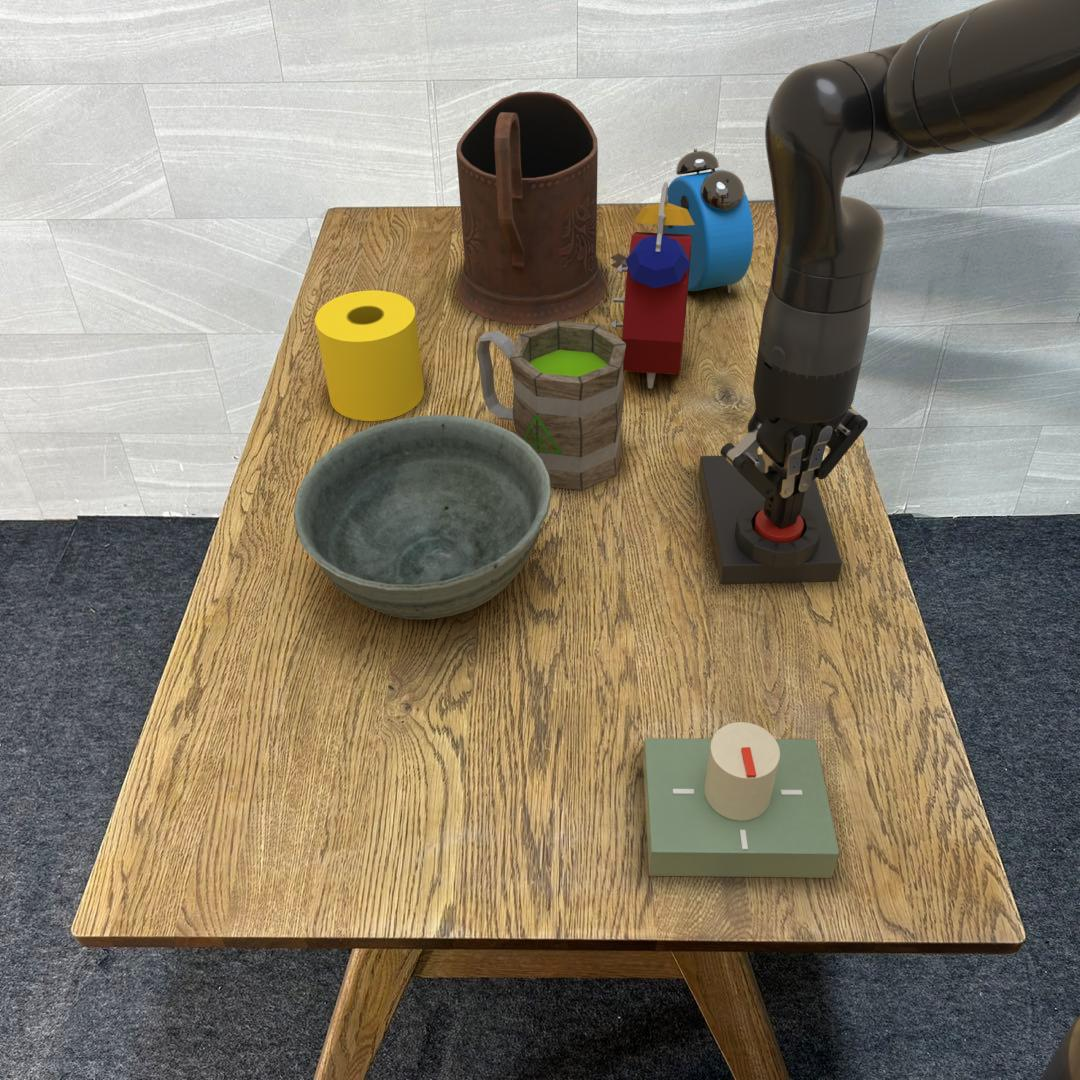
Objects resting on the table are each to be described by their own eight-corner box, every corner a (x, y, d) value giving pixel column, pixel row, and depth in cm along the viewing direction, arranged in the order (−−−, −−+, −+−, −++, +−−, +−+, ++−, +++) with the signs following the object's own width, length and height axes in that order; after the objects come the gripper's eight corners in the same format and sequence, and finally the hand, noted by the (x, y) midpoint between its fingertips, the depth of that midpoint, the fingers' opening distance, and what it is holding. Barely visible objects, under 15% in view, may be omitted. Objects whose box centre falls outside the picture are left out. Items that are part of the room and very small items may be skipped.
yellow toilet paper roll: (323, 421, 108) (307, 342, 101) (337, 368, 115) (323, 291, 109) (419, 420, 107) (409, 340, 101) (428, 366, 115) (419, 289, 108)
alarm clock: (748, 304, 123) (763, 180, 113) (699, 313, 122) (711, 189, 112) (701, 255, 132) (712, 137, 122) (656, 263, 131) (663, 144, 121)
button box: (839, 584, 88) (847, 550, 86) (721, 588, 88) (725, 553, 86) (802, 470, 100) (809, 437, 97) (698, 473, 100) (701, 440, 97)
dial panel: (809, 764, 75) (816, 737, 73) (832, 878, 68) (840, 852, 66) (642, 762, 76) (644, 736, 73) (648, 876, 69) (651, 850, 67)
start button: (804, 551, 88) (808, 536, 87) (757, 553, 88) (759, 537, 87) (795, 520, 91) (798, 505, 90) (749, 521, 91) (752, 506, 90)
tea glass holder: (614, 253, 133) (619, 46, 116) (593, 355, 116) (596, 129, 99) (471, 246, 135) (457, 42, 119) (430, 345, 118) (406, 122, 101)
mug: (644, 445, 103) (650, 340, 95) (586, 505, 97) (587, 398, 89) (515, 397, 110) (510, 295, 102) (452, 450, 104) (441, 345, 95)
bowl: (598, 551, 92) (600, 462, 85) (457, 710, 79) (446, 620, 73) (414, 474, 101) (402, 387, 94) (260, 606, 88) (234, 517, 81)
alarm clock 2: (678, 404, 108) (693, 222, 95) (596, 398, 110) (598, 218, 96) (686, 329, 119) (700, 157, 106) (611, 324, 120) (615, 153, 107)
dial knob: (699, 766, 72) (706, 720, 68) (763, 763, 72) (773, 717, 68) (709, 822, 68) (716, 777, 65) (776, 819, 68) (787, 774, 65)
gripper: (852, 299, 81) (817, 473, 93) (706, 342, 77) (689, 518, 89) (917, 345, 76) (872, 523, 88) (765, 393, 72) (739, 573, 84)
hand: (780, 520), depth 88 cm, fingers closed
